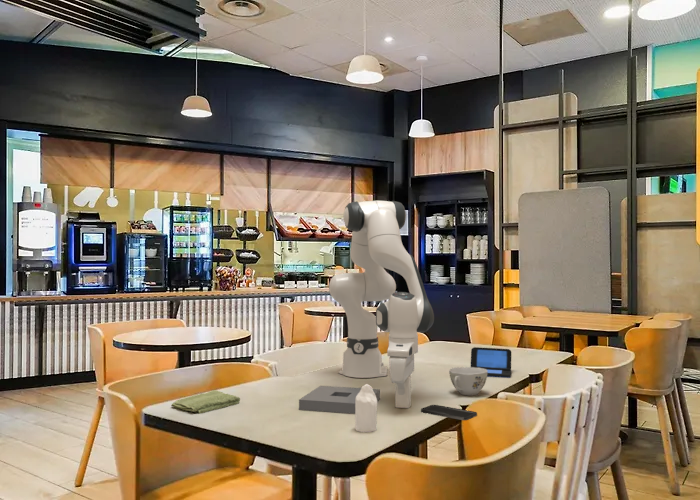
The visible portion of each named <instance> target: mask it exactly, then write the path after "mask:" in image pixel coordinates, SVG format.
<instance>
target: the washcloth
mask: <svg viewBox="0 0 700 500" xmlns="http://www.w3.org/2000/svg"><path fill="white" fill-rule="evenodd" d="M240 401H241V398H240V397H239V396H237V395H233V394H229V393H224V392H223V391H219V390H210V391H208V392H203V393H200V394H196V395H191V396H187V397H185V398H180V399H177V400H176V401H174V402H173V403H171V407H173V408H174V409H179V410H182V411H186V412H192V413H195V414H199V415H201V414H205V413H209V412H212V411H216V410H219V409H224V408H228V407H231V406H235V405H238V404H239V403H240Z"/></svg>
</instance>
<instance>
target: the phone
mask: <svg viewBox="0 0 700 500" xmlns="http://www.w3.org/2000/svg"><path fill="white" fill-rule="evenodd" d="M420 412H421V413H422V412H423V414H427V413H428V415H433V416H438V417H444V418H449V419H455V420H460V421H469V420H470V419H473V418H475V417H477V416H478V412H477V411H474V410H473V411H472V410H468V411H467V409H461V408H456V407H450V406H445V405H440V404H439V405H438V404H430V405H427V406H425V407H422V408H421V409H420Z"/></svg>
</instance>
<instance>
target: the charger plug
mask: <svg viewBox="0 0 700 500" xmlns="http://www.w3.org/2000/svg"><path fill="white" fill-rule="evenodd" d="M394 384H395V385H394V387H395V388H394V389H395V392H394V393H395V394H394V395H395V399H394V401H395V406H394V407H395V408H399V409H401V408H402V409H409V408H410V407H411V406H412V374H411V375H410V376H409V377H408V378H407V379H406V380H405V383H404V388H405V393H404V395H399V394H398V386H397V383H394Z"/></svg>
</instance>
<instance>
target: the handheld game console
mask: <svg viewBox="0 0 700 500" xmlns="http://www.w3.org/2000/svg"><path fill="white" fill-rule="evenodd" d="M470 351H471V352H470V367H474V368H484V369H486V370H487V371H488V373H487V378H491V377H492V378H504V379H505V378H506V379H509V378H511V377H512V350H511V349H510V348H509V349H508V348H497V347H496V348H495V347H494V348H493V347H491V348H490V347H478V346H477V347H475V346H474V347H472V348H471V350H470Z"/></svg>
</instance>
